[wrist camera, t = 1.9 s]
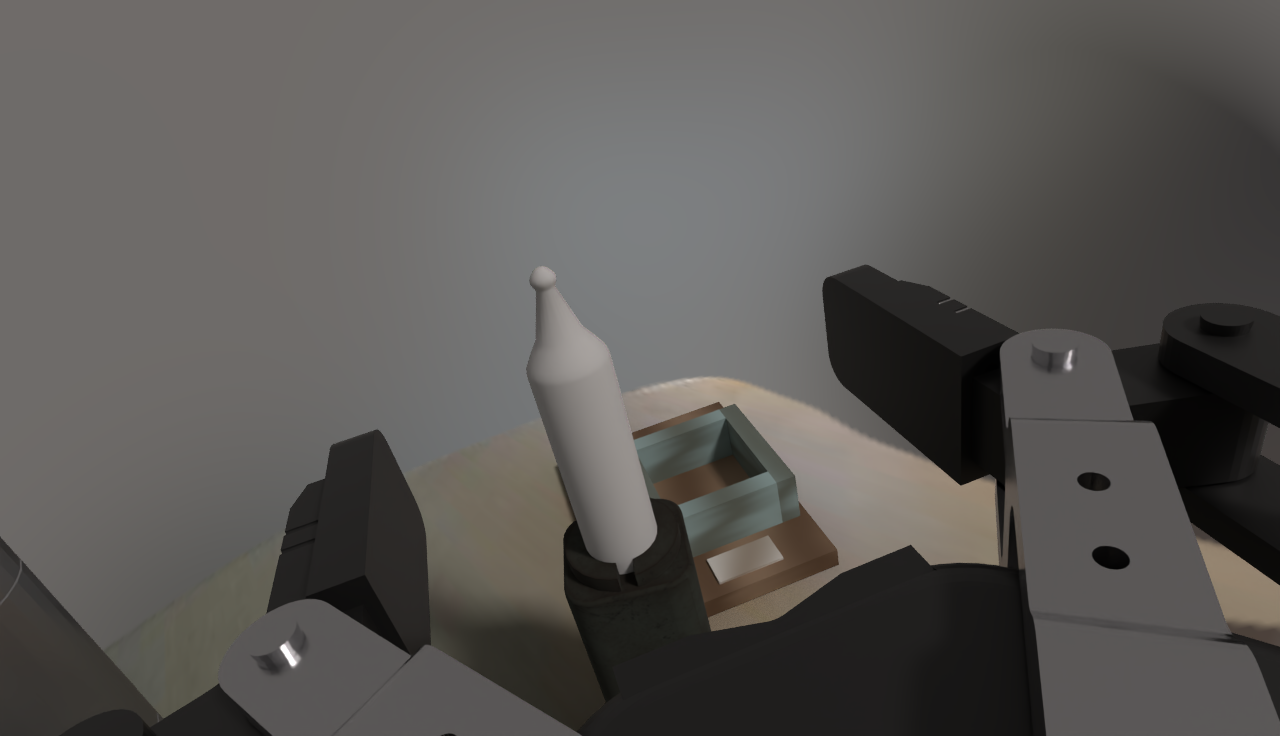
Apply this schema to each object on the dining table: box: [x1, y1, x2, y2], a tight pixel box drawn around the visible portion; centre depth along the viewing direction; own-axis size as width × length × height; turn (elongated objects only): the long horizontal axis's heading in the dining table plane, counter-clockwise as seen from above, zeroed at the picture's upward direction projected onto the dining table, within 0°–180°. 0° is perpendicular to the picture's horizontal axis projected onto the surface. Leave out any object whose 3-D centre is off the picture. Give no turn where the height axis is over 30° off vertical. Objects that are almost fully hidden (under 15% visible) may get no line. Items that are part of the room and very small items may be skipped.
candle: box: [526, 266, 711, 703], centre depth 29 cm, size 5×5×25 cm
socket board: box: [632, 402, 839, 617], centre depth 48 cm, size 13×18×4 cm
